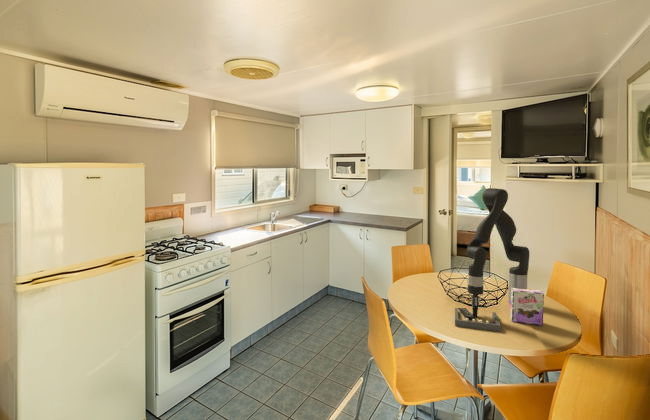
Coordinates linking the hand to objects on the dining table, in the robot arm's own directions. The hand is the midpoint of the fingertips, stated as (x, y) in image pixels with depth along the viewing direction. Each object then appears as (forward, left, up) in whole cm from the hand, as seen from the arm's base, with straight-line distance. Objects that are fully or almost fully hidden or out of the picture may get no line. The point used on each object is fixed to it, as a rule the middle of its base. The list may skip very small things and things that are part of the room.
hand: (474, 316), depth 176 cm
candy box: (-3, +24, -1) cm, 24 cm away
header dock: (+6, 0, -1) cm, 6 cm away
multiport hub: (-2, -4, -1) cm, 5 cm away
